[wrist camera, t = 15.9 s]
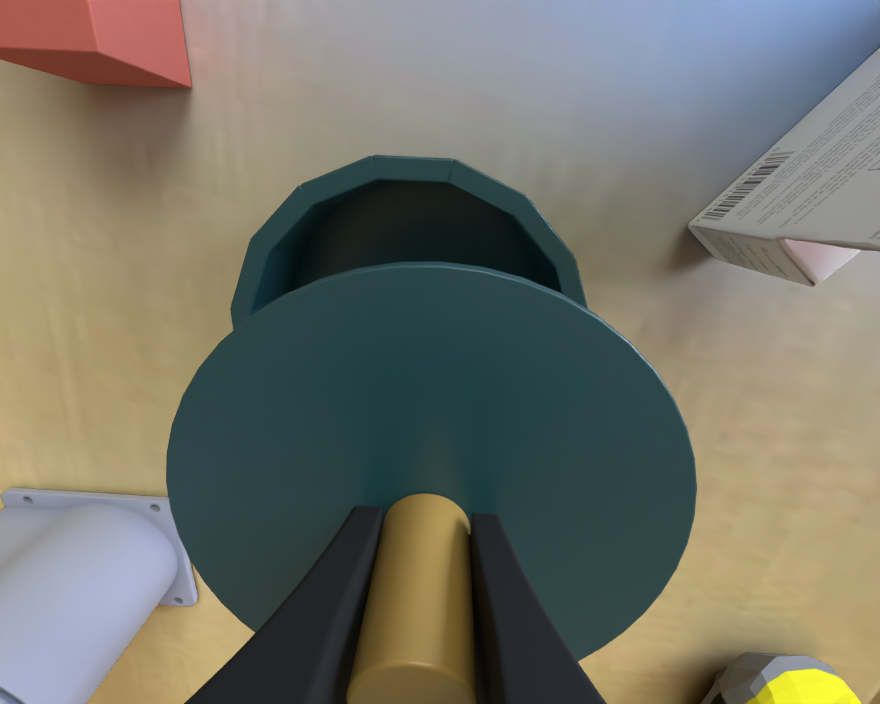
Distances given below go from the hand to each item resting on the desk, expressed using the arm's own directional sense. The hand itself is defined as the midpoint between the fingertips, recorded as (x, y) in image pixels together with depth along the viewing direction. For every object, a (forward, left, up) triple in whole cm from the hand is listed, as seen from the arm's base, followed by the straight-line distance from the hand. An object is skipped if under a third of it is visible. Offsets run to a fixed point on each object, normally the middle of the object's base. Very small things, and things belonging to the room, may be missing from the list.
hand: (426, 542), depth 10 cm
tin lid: (0, 0, -1) cm, 1 cm away
